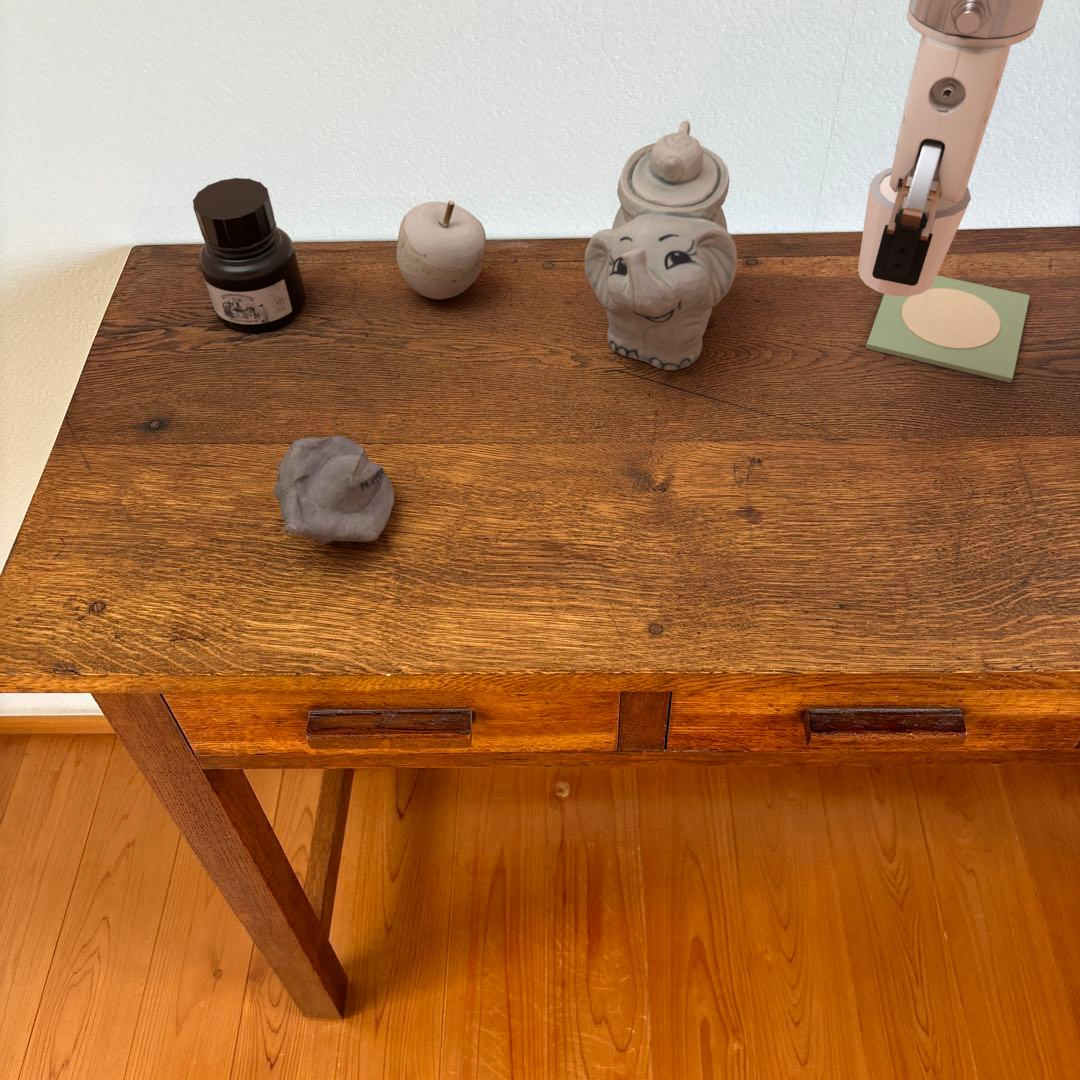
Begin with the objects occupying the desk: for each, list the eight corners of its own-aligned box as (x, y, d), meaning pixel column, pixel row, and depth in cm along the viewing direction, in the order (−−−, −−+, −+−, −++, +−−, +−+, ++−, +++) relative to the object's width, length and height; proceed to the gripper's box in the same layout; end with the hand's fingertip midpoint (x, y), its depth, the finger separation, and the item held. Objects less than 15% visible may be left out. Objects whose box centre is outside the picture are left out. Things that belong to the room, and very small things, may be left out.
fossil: (379, 583, 78) (363, 515, 72) (266, 575, 79) (240, 507, 73) (407, 478, 85) (394, 408, 79) (302, 472, 86) (281, 402, 80)
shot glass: (946, 255, 78) (974, 171, 72) (940, 308, 73) (968, 223, 68) (855, 241, 79) (875, 157, 74) (843, 293, 75) (864, 208, 70)
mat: (1028, 300, 98) (1030, 293, 98) (1010, 383, 91) (1013, 376, 90) (892, 270, 102) (894, 264, 101) (865, 348, 94) (867, 342, 94)
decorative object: (388, 282, 103) (373, 193, 95) (465, 255, 105) (456, 166, 98) (425, 329, 98) (413, 239, 90) (505, 300, 100) (499, 210, 93)
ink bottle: (197, 327, 99) (159, 219, 90) (235, 274, 104) (202, 166, 95) (290, 340, 97) (260, 231, 88) (323, 285, 103) (299, 177, 93)
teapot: (637, 419, 89) (650, 233, 75) (537, 333, 97) (531, 149, 83) (773, 345, 95) (809, 159, 81) (668, 269, 103) (684, 87, 89)
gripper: (1028, 69, 55) (938, 332, 69) (1054, -51, 65) (971, 199, 79) (887, 49, 57) (827, 308, 71) (934, -65, 67) (874, 181, 81)
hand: (904, 249), depth 75 cm, fingers closed on shot glass, 6 cm apart
